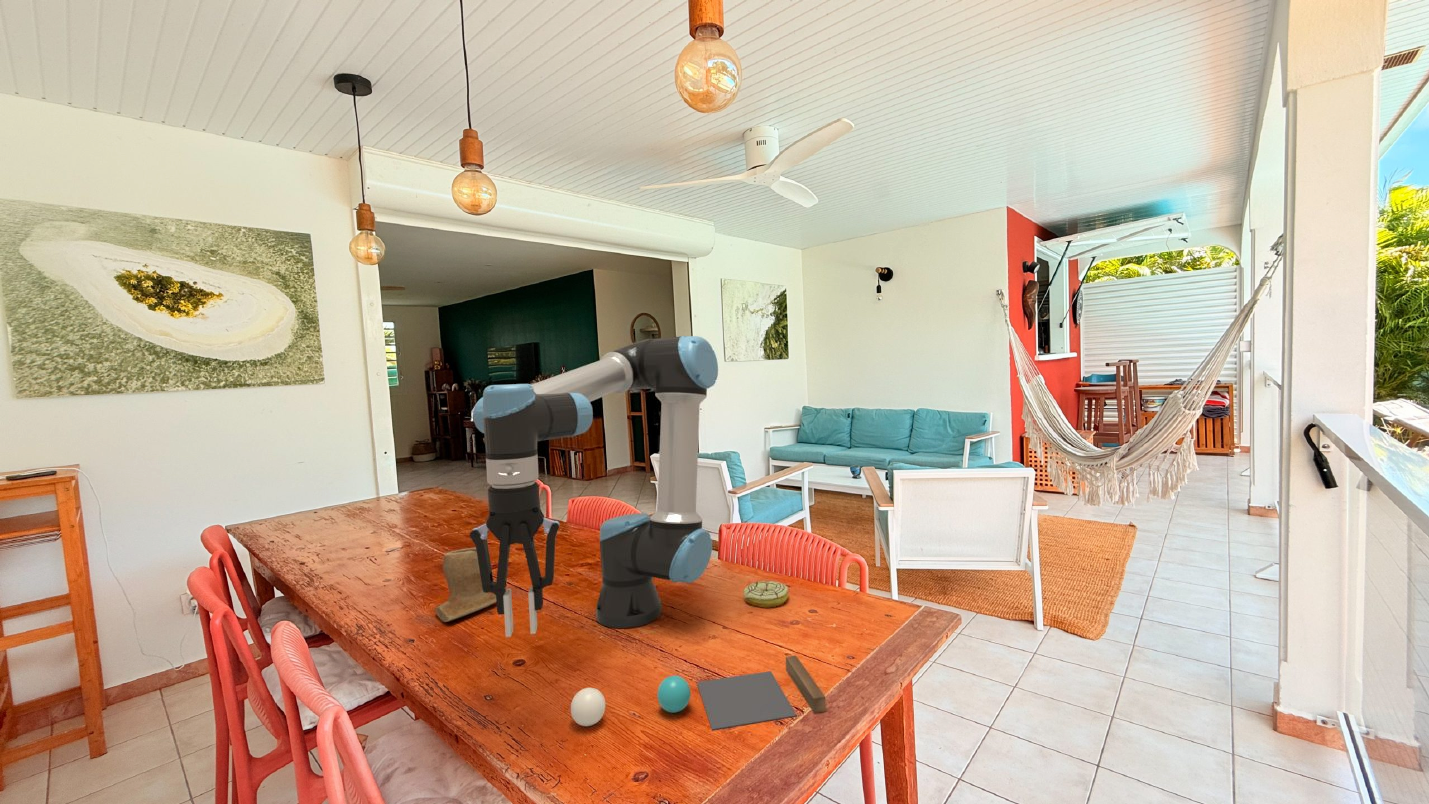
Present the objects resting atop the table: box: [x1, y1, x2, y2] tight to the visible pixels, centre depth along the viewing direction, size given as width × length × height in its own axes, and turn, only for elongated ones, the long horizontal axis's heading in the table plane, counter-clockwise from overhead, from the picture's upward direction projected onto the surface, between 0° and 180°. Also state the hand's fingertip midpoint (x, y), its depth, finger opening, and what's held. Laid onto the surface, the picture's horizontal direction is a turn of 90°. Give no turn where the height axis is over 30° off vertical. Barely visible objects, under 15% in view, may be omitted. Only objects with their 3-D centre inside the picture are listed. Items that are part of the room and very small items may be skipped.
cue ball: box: [570, 687, 606, 727], centre depth 92 cm, size 6×6×6 cm
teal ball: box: [657, 675, 691, 713], centre depth 95 cm, size 6×6×6 cm
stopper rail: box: [785, 654, 827, 714], centre depth 99 cm, size 2×14×2 cm, turn 12°
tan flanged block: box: [434, 547, 497, 623], centre depth 138 cm, size 15×12×15 cm
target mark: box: [696, 670, 798, 731], centre depth 97 cm, size 14×14×1 cm
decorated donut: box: [743, 580, 789, 609], centre depth 138 cm, size 10×11×4 cm
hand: (521, 631), depth 89 cm, fingers open, 3 cm apart
